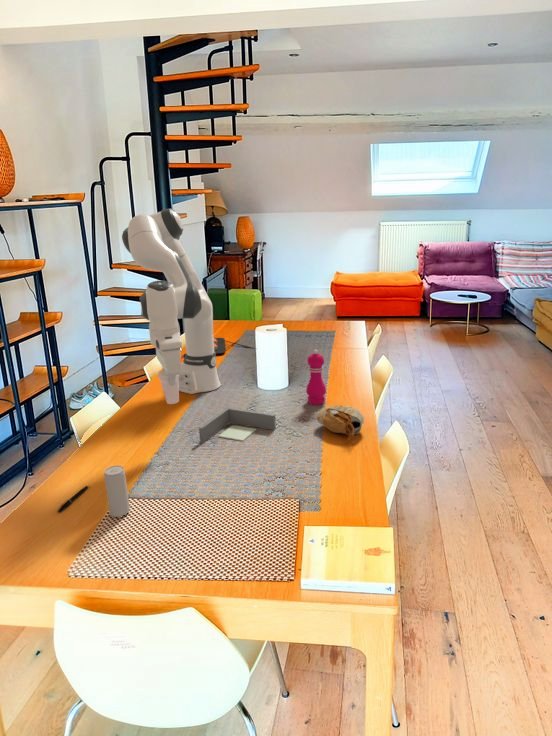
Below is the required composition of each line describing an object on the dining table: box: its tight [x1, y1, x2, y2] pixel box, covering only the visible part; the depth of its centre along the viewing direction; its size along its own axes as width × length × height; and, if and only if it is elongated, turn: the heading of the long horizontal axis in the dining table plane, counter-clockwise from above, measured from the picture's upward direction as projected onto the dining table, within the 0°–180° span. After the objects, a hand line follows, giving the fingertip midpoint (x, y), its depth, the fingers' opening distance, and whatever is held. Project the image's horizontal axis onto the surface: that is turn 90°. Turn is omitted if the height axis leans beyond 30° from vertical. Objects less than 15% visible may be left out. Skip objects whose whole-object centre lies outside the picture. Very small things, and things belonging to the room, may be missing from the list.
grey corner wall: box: [198, 407, 277, 444], centre depth 180 cm, size 18×18×5 cm
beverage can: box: [103, 465, 131, 518], centre depth 137 cm, size 5×5×12 cm
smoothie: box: [157, 369, 180, 405], centre depth 169 cm, size 6×6×14 cm
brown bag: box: [316, 404, 365, 445], centre depth 178 cm, size 8×22×15 cm
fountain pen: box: [57, 483, 91, 513], centre depth 146 cm, size 14×1×2 cm, turn 164°
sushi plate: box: [213, 337, 256, 355], centre depth 280 cm, size 29×30×4 cm
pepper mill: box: [305, 349, 327, 406], centre depth 203 cm, size 7×7×20 cm
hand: (169, 381), depth 169 cm, fingers closed on smoothie, 6 cm apart
